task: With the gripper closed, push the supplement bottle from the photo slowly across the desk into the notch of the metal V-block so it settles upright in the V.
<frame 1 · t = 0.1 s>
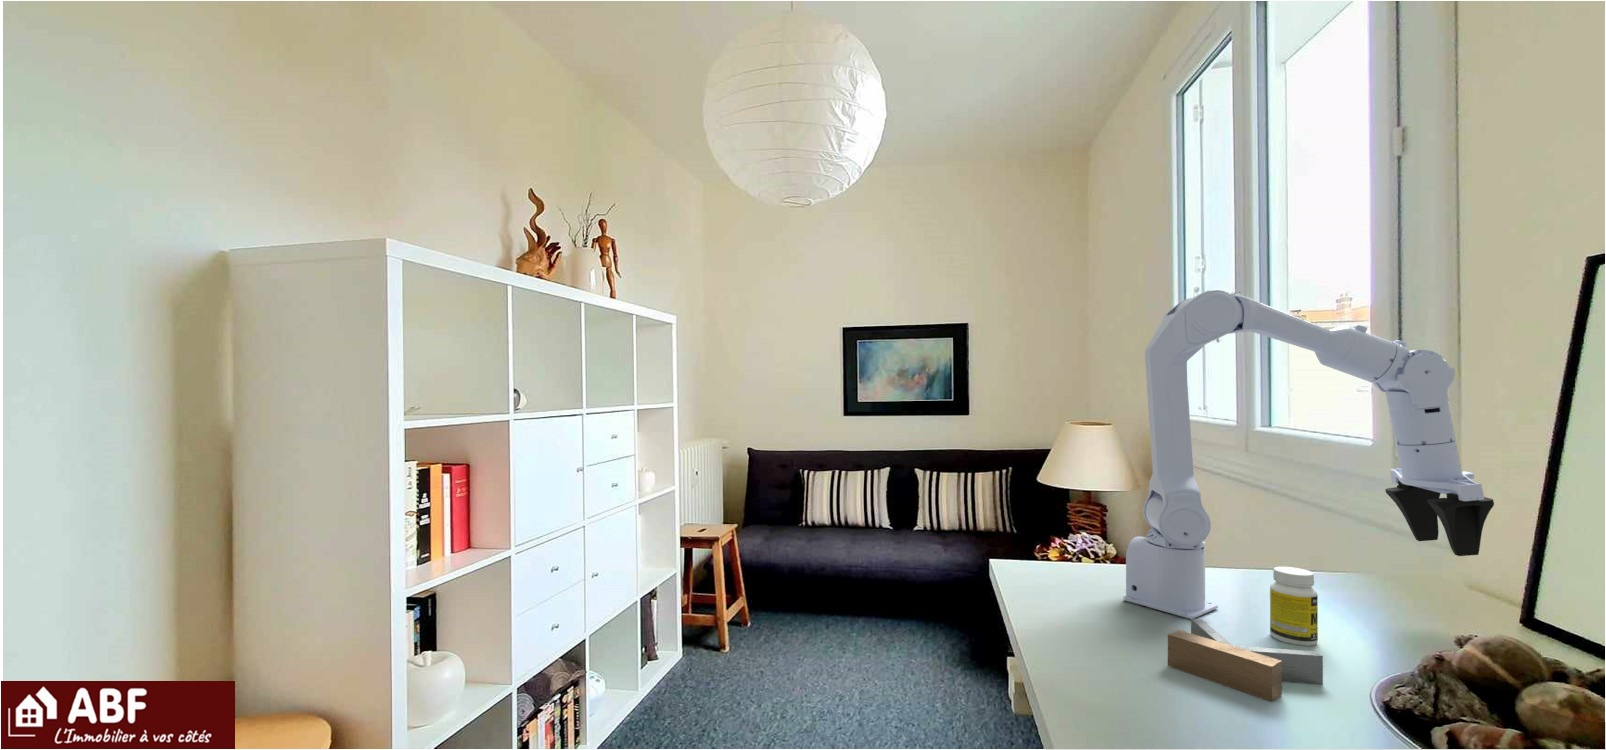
hand: (1445, 547, 84), 11 cm above the table, tool pointing down, fingers open, 7 cm apart
v block: (1252, 662, 74), on the table
supplement bottle: (1293, 640, 80), on the table
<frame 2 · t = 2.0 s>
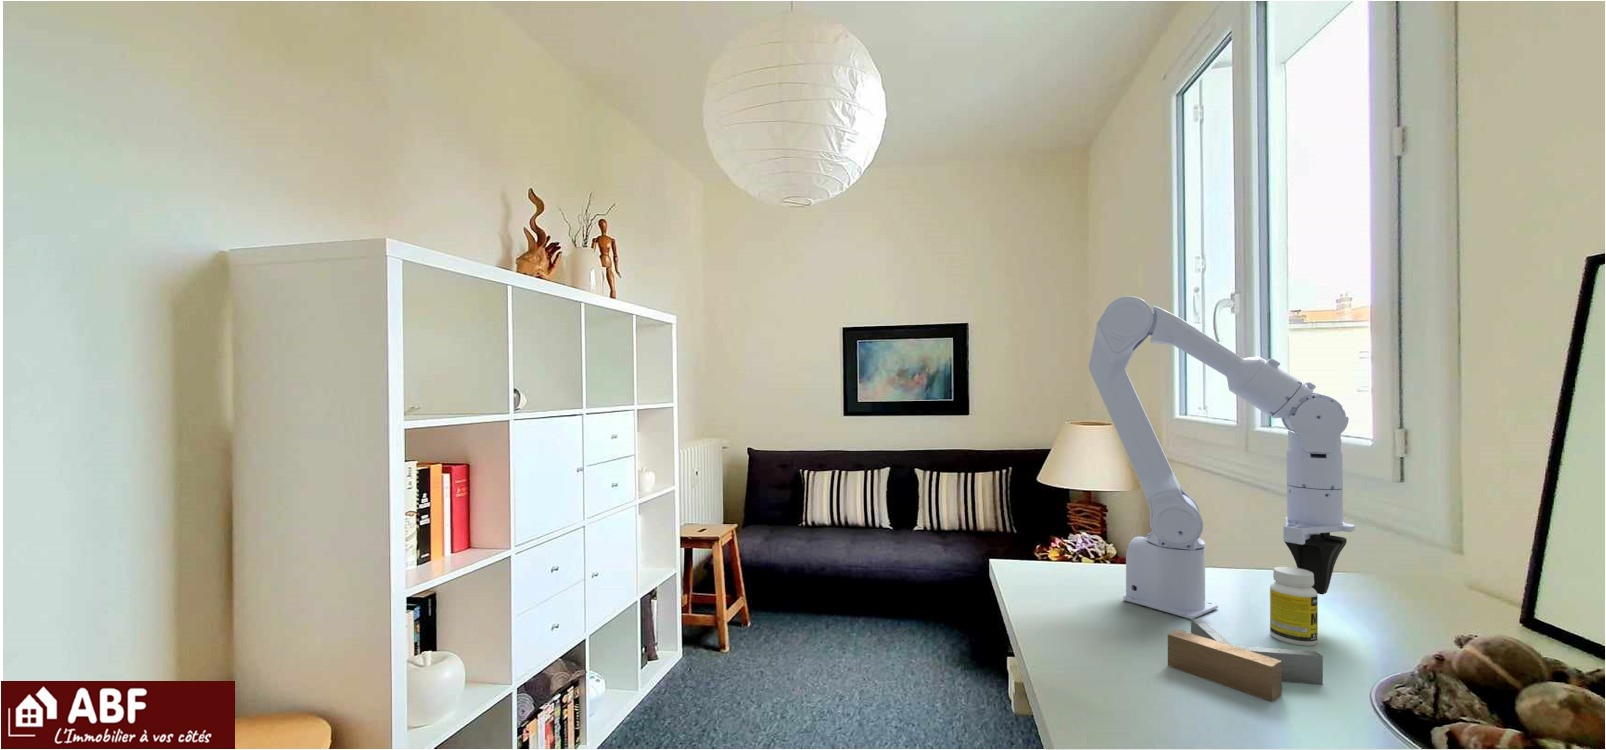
hand: (1315, 591, 84), 5 cm above the table, tool pointing down, fingers closed
nothing on the table moved.
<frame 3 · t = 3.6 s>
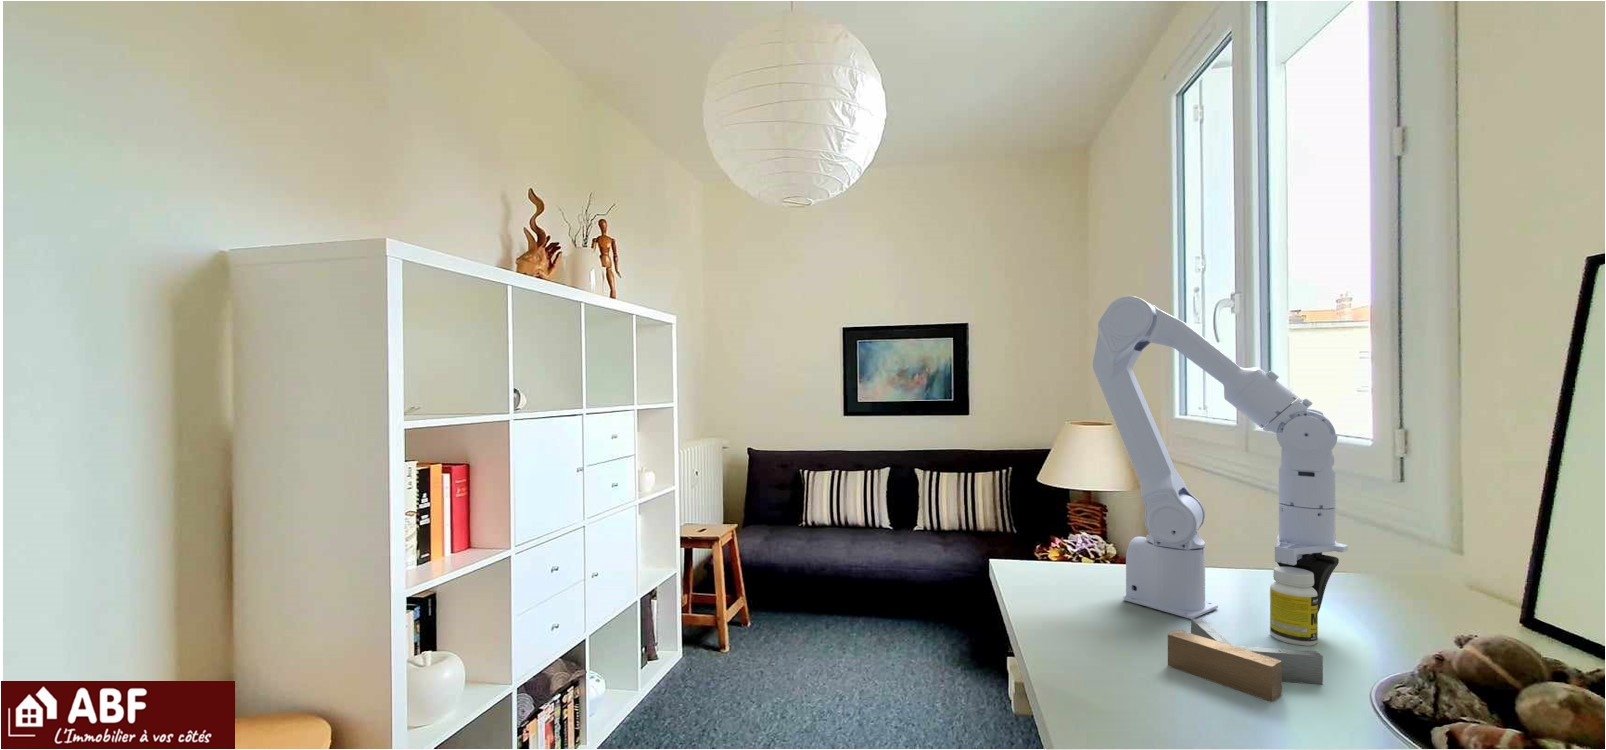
hand: (1306, 612, 83), 2 cm above the table, tool pointing down, fingers closed
supplement bottle: (1293, 640, 80), on the table, touching gripper
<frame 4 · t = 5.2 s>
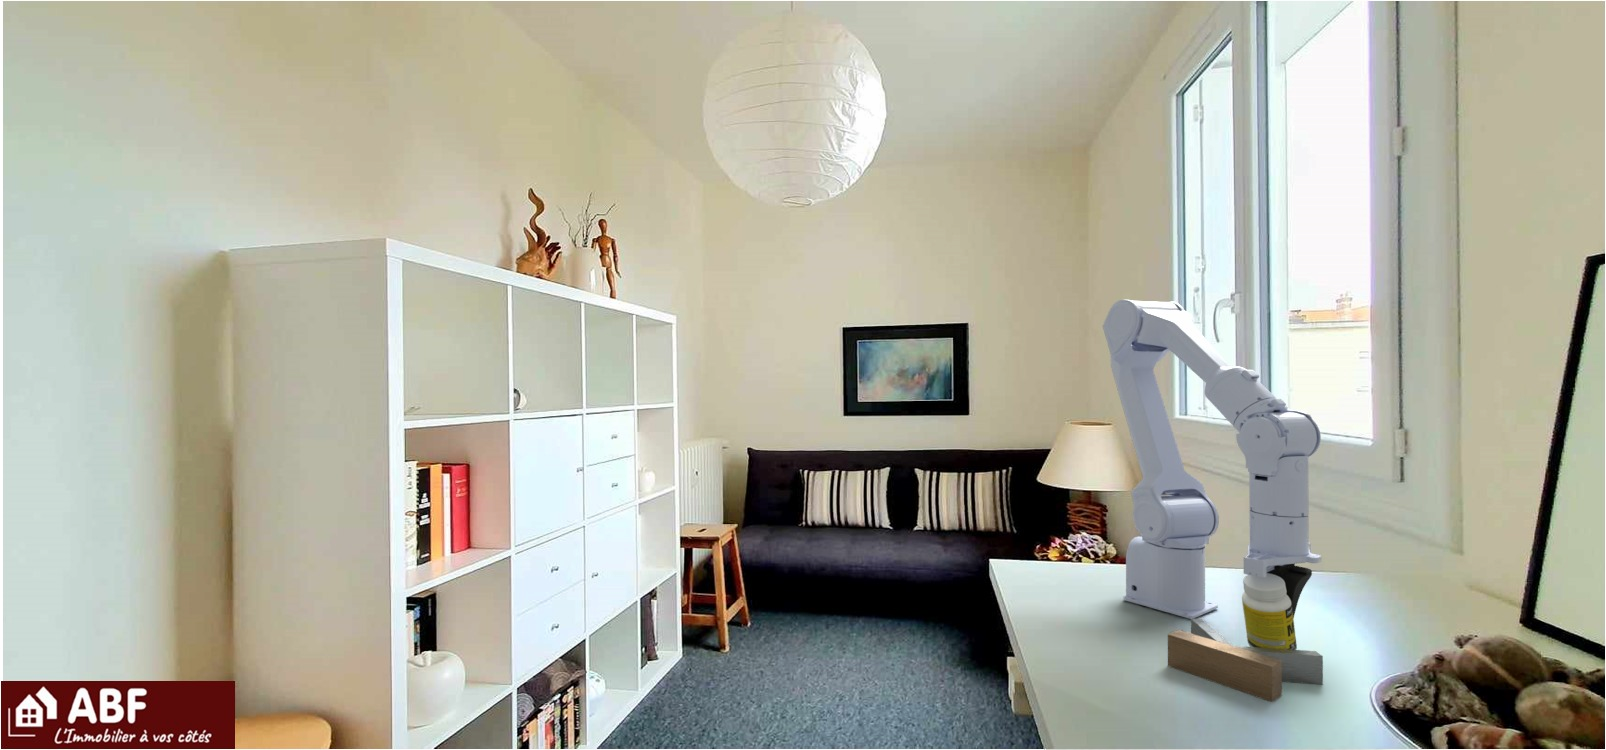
hand: (1279, 627, 78), 2 cm above the table, tool pointing down, fingers closed, pressing on supplement bottle
supplement bottle: (1272, 647, 76), point 1 cm above the table, touching gripper
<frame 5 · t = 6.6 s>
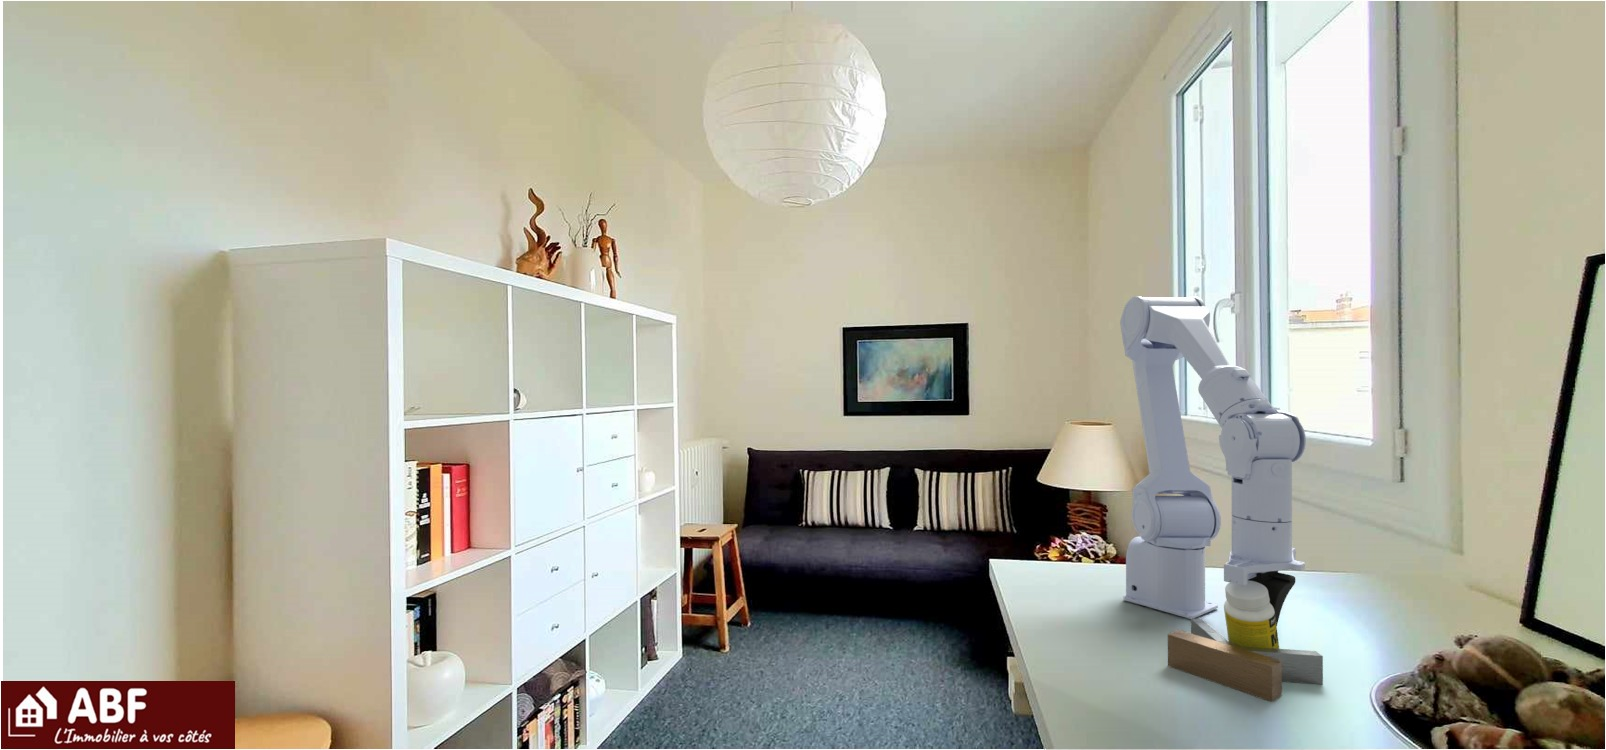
hand: (1261, 636, 75), 2 cm above the table, tool pointing down, fingers closed, pressing on supplement bottle
supplement bottle: (1255, 658, 74), on the table, touching gripper
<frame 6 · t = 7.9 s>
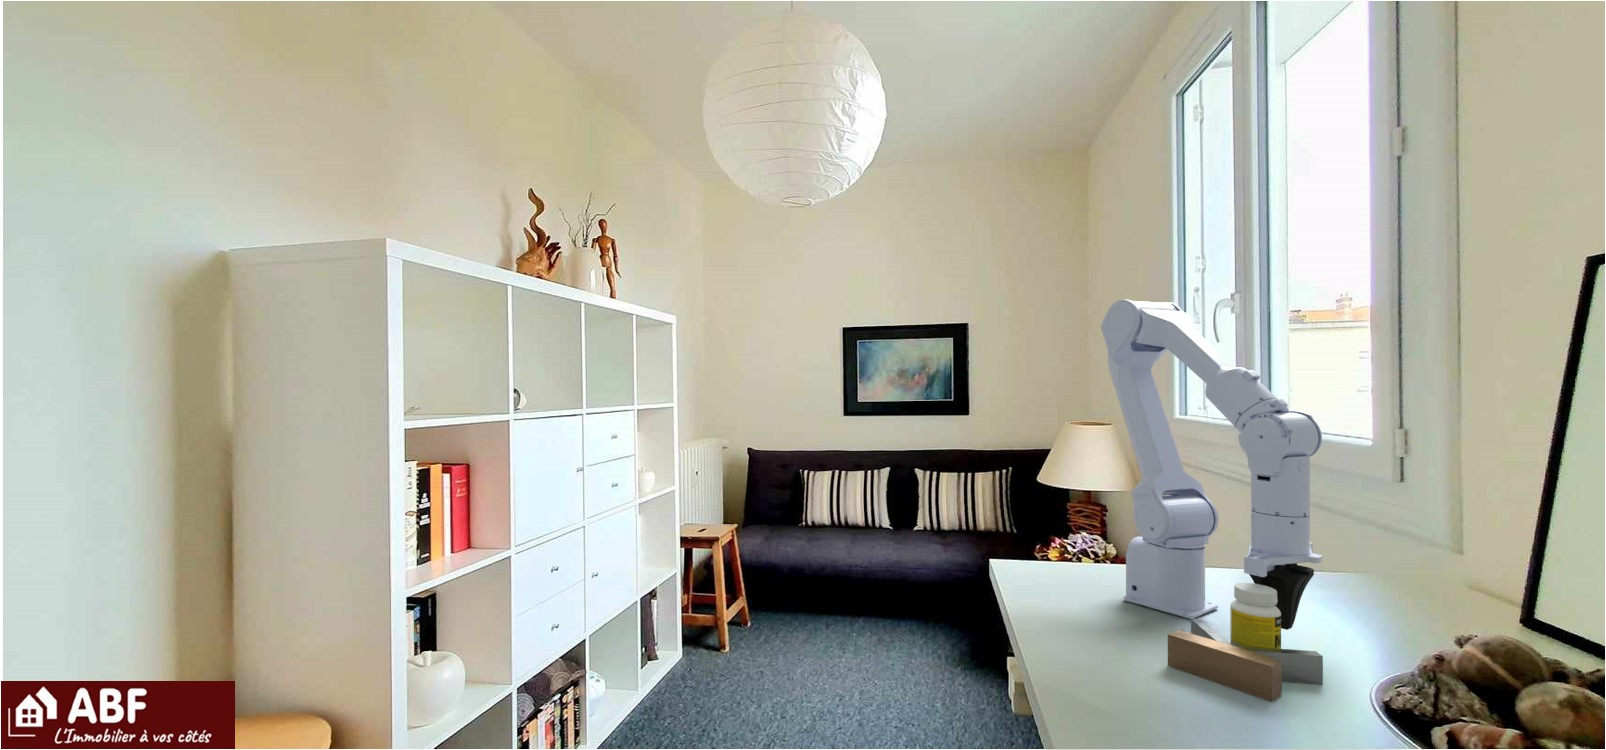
hand: (1279, 626, 78), 2 cm above the table, tool pointing down, fingers closed
supplement bottle: (1255, 664, 74), on the table
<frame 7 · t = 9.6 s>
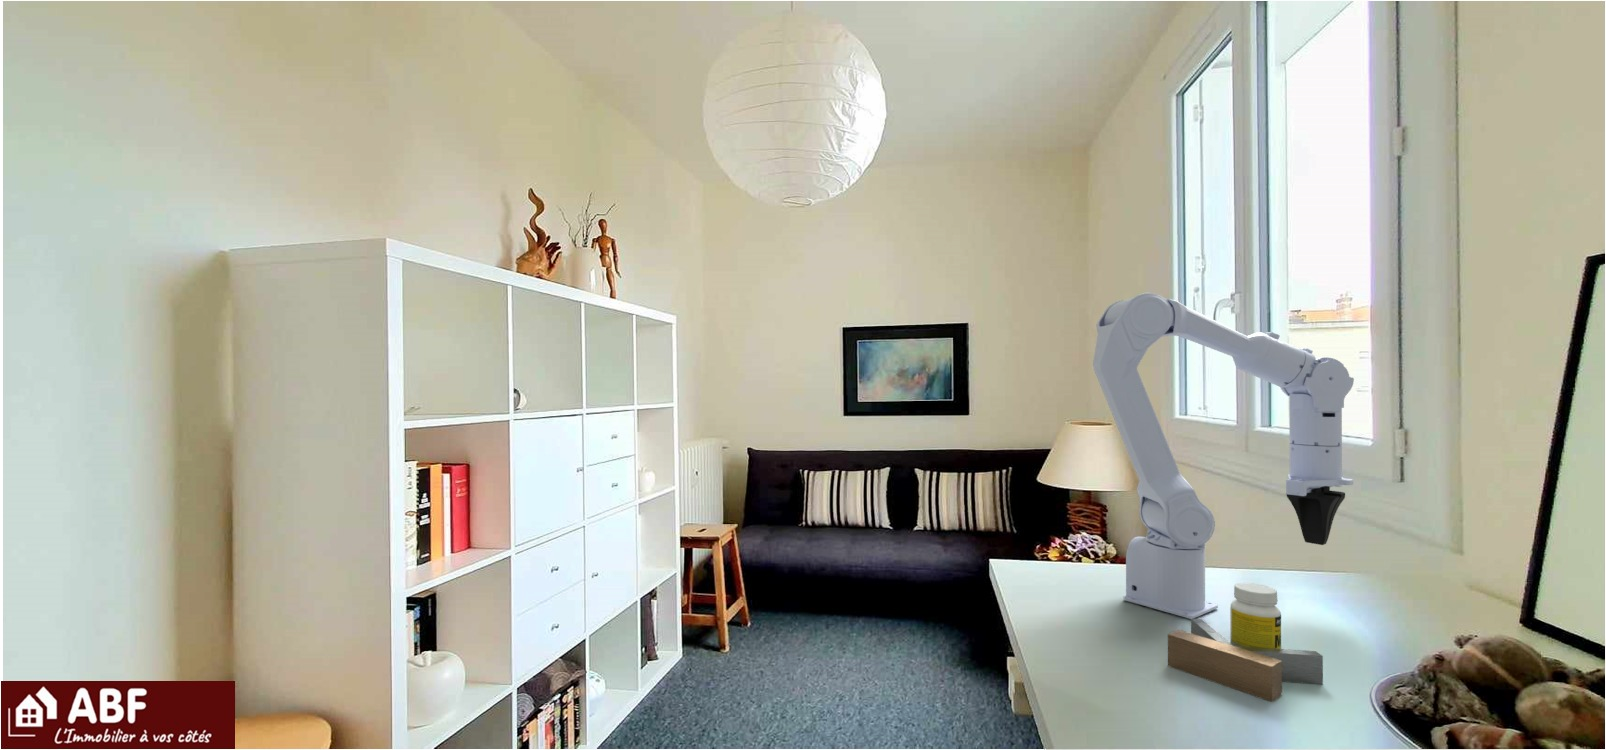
hand: (1315, 543, 90), 9 cm above the table, tool pointing down, fingers closed
nothing on the table moved.
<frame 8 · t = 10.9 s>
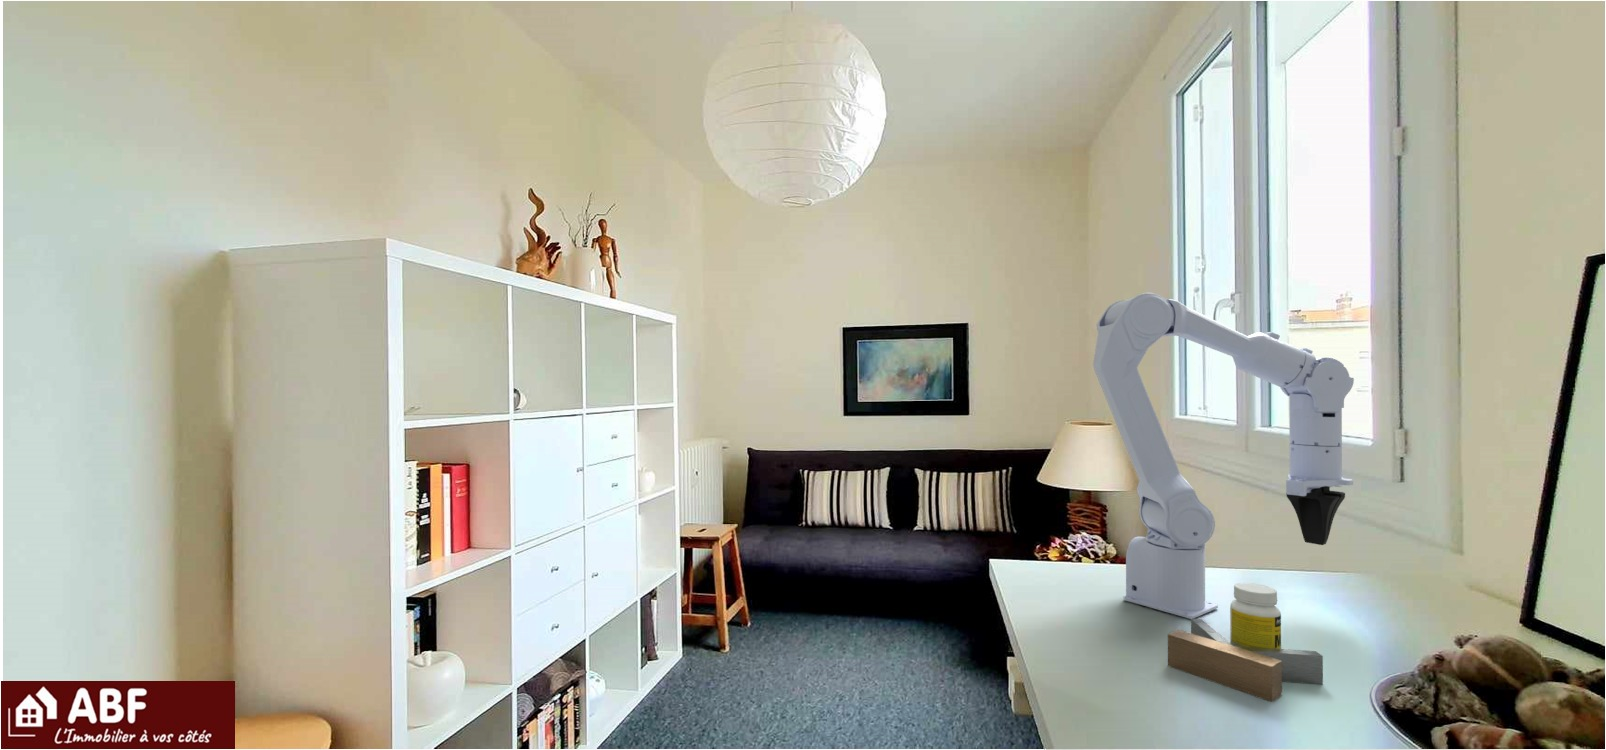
hand: (1315, 543, 90), 9 cm above the table, tool pointing down, fingers closed
nothing on the table moved.
at the end: supplement bottle 0.5 cm from the v block (horizontally); supplement bottle tilted 0°; supplement bottle moved 11.6 cm from its start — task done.
